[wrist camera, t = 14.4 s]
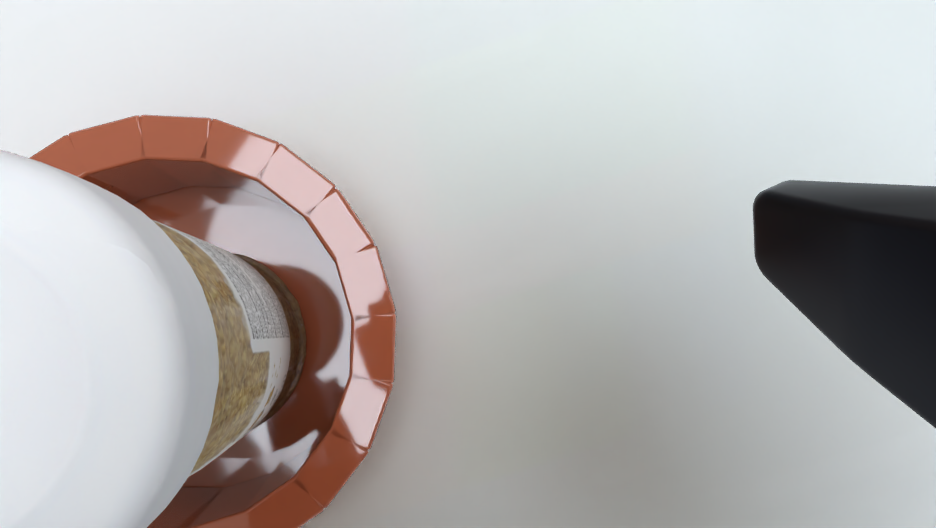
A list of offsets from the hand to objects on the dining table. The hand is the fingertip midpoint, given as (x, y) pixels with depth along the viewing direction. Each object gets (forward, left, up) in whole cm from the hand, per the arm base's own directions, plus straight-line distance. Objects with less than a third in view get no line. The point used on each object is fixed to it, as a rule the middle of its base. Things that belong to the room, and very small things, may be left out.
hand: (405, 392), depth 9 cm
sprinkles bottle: (-1, +4, -13) cm, 14 cm away
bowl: (-1, +4, -13) cm, 14 cm away
